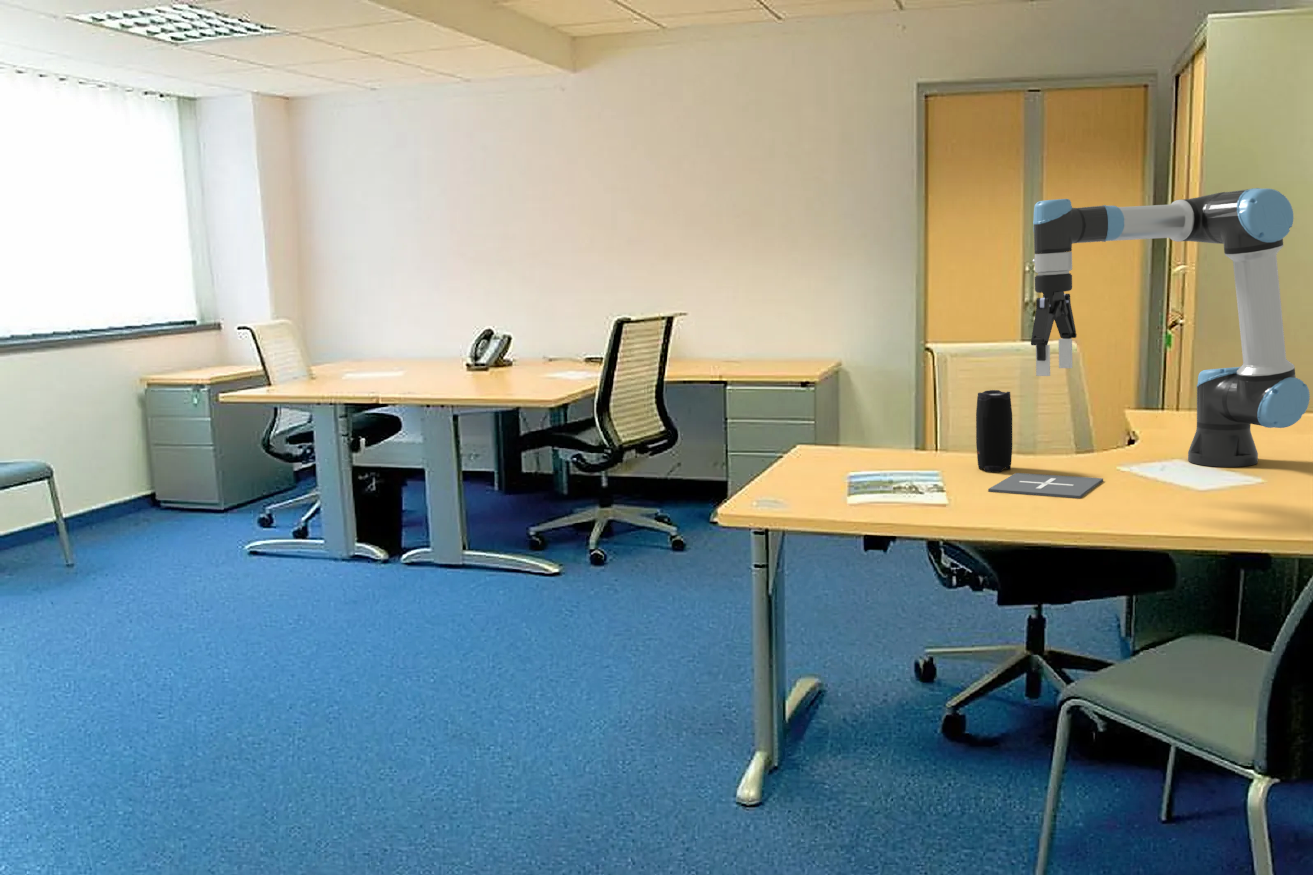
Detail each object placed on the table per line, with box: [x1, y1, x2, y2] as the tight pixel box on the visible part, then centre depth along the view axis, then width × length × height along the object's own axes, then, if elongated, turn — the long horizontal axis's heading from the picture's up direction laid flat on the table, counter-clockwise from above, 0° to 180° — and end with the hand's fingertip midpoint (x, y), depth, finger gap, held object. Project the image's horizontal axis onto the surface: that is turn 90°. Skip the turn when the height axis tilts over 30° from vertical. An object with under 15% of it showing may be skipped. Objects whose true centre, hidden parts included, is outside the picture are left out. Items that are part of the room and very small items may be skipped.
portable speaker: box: [975, 389, 1013, 473], centre depth 270 cm, size 9×9×20 cm
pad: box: [987, 472, 1104, 499], centre depth 249 cm, size 20×20×1 cm
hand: (1054, 372), depth 236 cm, fingers open, 13 cm apart
